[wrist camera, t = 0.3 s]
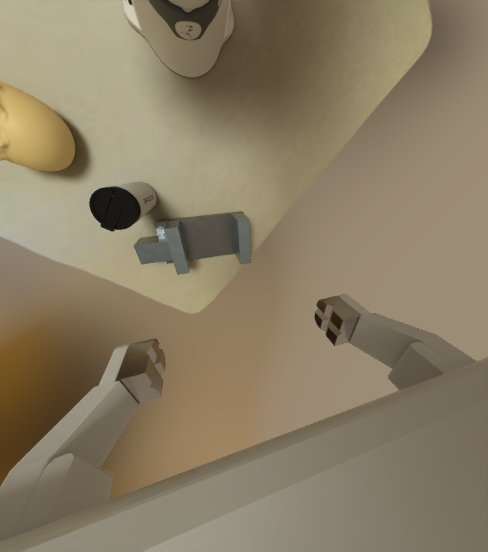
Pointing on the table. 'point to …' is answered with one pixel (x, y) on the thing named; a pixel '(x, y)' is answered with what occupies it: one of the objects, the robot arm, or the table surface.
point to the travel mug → (122, 204)
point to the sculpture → (32, 132)
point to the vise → (214, 235)
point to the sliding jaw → (165, 248)
